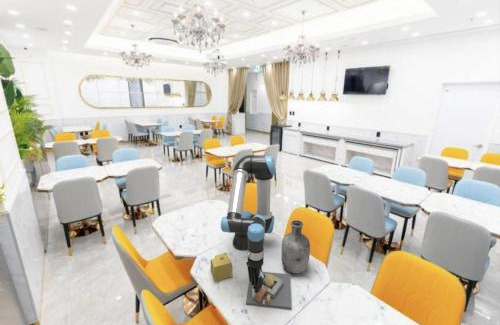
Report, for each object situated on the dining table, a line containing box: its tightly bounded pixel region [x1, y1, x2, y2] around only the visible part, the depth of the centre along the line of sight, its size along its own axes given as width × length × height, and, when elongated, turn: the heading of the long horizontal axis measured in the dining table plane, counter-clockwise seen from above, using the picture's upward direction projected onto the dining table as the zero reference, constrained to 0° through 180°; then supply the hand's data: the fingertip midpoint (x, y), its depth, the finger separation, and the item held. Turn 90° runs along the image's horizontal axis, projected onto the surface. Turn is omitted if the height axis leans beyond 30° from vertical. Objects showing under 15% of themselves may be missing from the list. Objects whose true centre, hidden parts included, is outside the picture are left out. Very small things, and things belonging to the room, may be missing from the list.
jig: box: [245, 271, 292, 311], centre depth 122 cm, size 22×22×8 cm
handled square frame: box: [255, 273, 284, 303], centre depth 120 cm, size 17×11×2 cm, turn 146°
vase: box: [281, 219, 311, 274], centre depth 134 cm, size 16×16×30 cm
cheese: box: [210, 252, 233, 282], centre depth 133 cm, size 10×11×10 cm
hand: (255, 296), depth 116 cm, fingers closed
